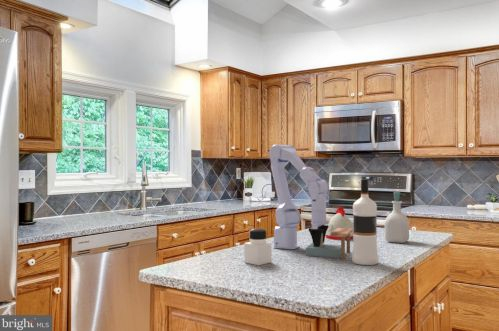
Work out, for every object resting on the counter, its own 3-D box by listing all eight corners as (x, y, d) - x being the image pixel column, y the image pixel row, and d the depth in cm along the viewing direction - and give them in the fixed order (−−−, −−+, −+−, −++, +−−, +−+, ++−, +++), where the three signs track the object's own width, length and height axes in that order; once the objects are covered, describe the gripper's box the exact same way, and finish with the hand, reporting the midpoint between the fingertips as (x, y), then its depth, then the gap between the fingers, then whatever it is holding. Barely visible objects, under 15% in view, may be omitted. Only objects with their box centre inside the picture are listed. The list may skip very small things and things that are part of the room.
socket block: (305, 255, 167) (305, 247, 167) (312, 250, 177) (312, 243, 177) (339, 257, 162) (339, 250, 162) (344, 252, 172) (344, 245, 172)
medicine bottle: (271, 262, 156) (271, 229, 156) (258, 265, 150) (258, 231, 150) (257, 259, 161) (257, 227, 161) (243, 262, 155) (243, 229, 155)
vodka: (349, 260, 159) (348, 178, 159) (374, 260, 159) (374, 178, 159) (355, 266, 149) (354, 179, 149) (381, 265, 149) (381, 179, 149)
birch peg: (314, 254, 169) (314, 233, 169) (315, 252, 172) (315, 232, 172) (322, 254, 168) (322, 234, 168) (323, 253, 171) (323, 233, 171)
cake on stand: (333, 240, 200) (332, 208, 200) (321, 236, 213) (321, 205, 213) (360, 239, 203) (360, 207, 203) (347, 234, 216) (347, 205, 216)
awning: (330, 258, 162) (330, 233, 162) (337, 251, 175) (337, 227, 175) (346, 259, 159) (346, 233, 159) (352, 252, 172) (352, 228, 172)
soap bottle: (406, 244, 190) (405, 192, 190) (383, 242, 195) (383, 191, 195) (409, 240, 198) (409, 191, 198) (388, 239, 203) (388, 190, 203)
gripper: (324, 212, 162) (325, 249, 162) (332, 209, 176) (332, 242, 176) (306, 212, 165) (306, 247, 165) (315, 208, 178) (315, 241, 178)
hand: (318, 245), depth 170 cm, fingers open, 7 cm apart
